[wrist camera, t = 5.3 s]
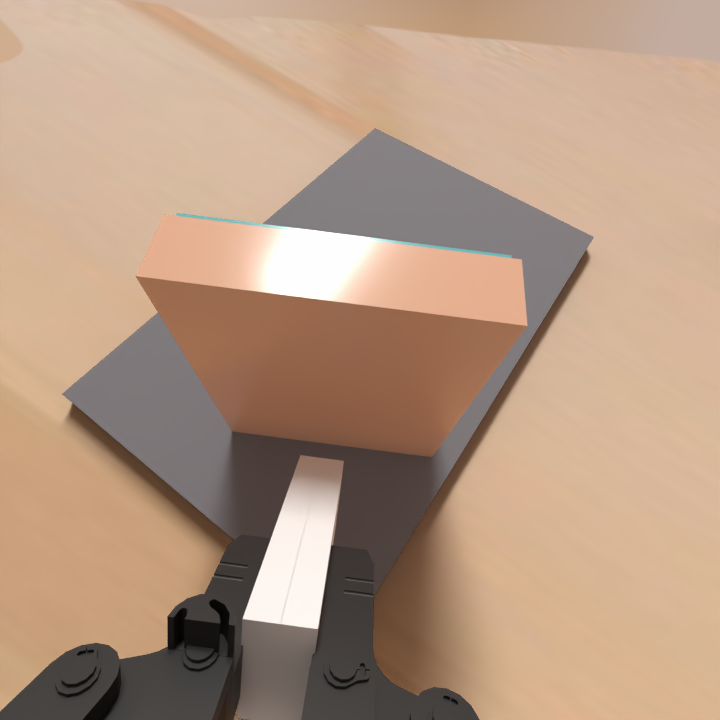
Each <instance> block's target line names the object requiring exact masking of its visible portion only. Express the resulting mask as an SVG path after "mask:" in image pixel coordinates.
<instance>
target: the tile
mask: <svg viewBox="0 0 720 720" xmlns="http://www.w3.org/2000/svg"><path fill="white" fill-rule="evenodd" d="M136 277H137V279H138V281H139V282H140V284H141V286H142V287H143V289H144V290H145V292H146V294H147V295H148V297H149V298H150V300H151V302H152V303H153V305H154V307H155V308H156V310H157V311H158V313H159V315H160V316H161V318H162V319H163V321H164V323H165V324H166V326H167V328H168V329H169V331H170V332H171V334H172V336H173V337H174V339H175V340H176V342H177V344H178V345H179V347H180V349H181V350H182V352H183V353H184V355H185V357H186V358H187V360H188V361H189V363H190V365H191V366H192V368H193V370H194V371H195V373H196V374H197V376H198V378H199V379H200V381H201V382H202V384H203V386H204V387H205V389H206V390H207V392H208V394H209V395H210V397H211V399H212V400H213V402H214V403H215V405H216V407H217V408H218V410H219V411H220V413H221V415H222V416H223V418H224V420H225V421H226V423H227V424H228V426H229V428H230V429H231V431H232V432H240V433H248V434H256V435H263V436H271V437H279V438H287V439H294V440H302V441H310V442H318V443H325V444H333V445H341V446H349V447H356V448H364V449H372V450H380V451H387V452H395V453H403V454H411V455H418V456H426V457H432V456H433V455H434V454H435V452H436V451H437V449H438V448H439V447H440V445H441V444H442V443H443V441H444V440H445V438H446V437H447V436H448V434H449V433H450V432H451V430H452V429H453V428H454V426H455V425H456V423H457V422H458V421H459V419H460V418H461V417H462V415H463V414H464V412H465V411H466V410H467V408H468V407H469V406H470V404H471V403H472V401H473V400H474V399H475V397H476V396H477V395H478V393H479V392H480V390H481V389H482V388H483V386H484V385H485V384H486V382H487V381H488V379H489V378H490V377H491V375H492V374H493V373H494V371H495V370H496V368H497V367H498V366H499V364H500V363H501V362H502V360H503V359H504V357H505V356H506V355H507V353H508V352H509V351H510V349H511V348H512V346H513V345H514V344H515V342H516V341H517V340H518V338H519V337H520V335H521V334H522V333H523V331H524V330H525V329H526V327H527V315H526V303H525V291H524V278H523V266H522V259H514V258H512V255H505V254H497V253H489V252H481V251H473V250H465V249H457V248H449V247H442V246H434V245H426V244H418V243H410V242H402V241H394V240H386V239H378V238H370V237H362V236H355V235H347V234H339V233H331V232H323V231H315V230H307V229H299V228H291V227H283V226H275V225H267V224H260V223H252V222H244V221H236V220H228V219H220V218H212V217H204V216H196V215H188V214H180V213H177V214H176V216H174V215H166V214H164V216H163V218H162V220H161V222H160V224H159V226H158V229H157V231H156V233H155V235H154V237H153V239H152V242H151V244H150V246H149V248H148V250H147V252H146V255H145V257H144V259H143V261H142V263H141V265H140V268H139V270H138V272H137V274H136Z"/></svg>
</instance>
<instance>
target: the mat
mask: <svg viewBox="0 0 720 720" xmlns="http://www.w3.org/2000/svg"><path fill="white" fill-rule="evenodd" d="M263 224H267V225H275V226H283V227H291V228H299V229H307V230H315V231H323V232H331V233H339V234H347V235H355V236H362V237H370V238H378V239H386V240H394V241H402V242H410V243H418V244H426V245H434V246H442V247H449V248H457V249H465V250H473V251H481V252H489V253H497V254H505V255H512V258H514V259H522V266H523V278H524V291H525V303H526V315H527V327H526V329H525V330H524V331H523V333H522V334H521V335H520V337H519V338H518V340H517V341H516V342H515V344H514V345H513V346H512V348H511V349H510V351H509V352H508V353H507V355H506V356H505V357H504V359H503V360H502V362H501V363H500V364H499V366H498V367H497V368H496V370H495V371H494V373H493V374H492V375H491V377H490V378H489V379H488V381H487V382H486V384H485V385H484V386H483V388H482V389H481V390H480V392H479V393H478V395H477V396H476V397H475V399H474V400H473V401H472V403H471V404H470V406H469V407H468V408H467V410H466V411H465V412H464V414H463V415H462V417H461V418H460V419H459V421H458V422H457V423H456V425H455V426H454V428H453V429H452V430H451V432H450V433H449V434H448V436H447V437H446V438H445V440H444V441H443V443H442V444H441V445H440V447H439V448H438V449H437V451H436V452H435V454H434V455H433V456H432V457H426V456H418V455H411V454H403V453H395V452H387V451H380V450H372V449H364V448H356V447H349V446H341V445H333V444H325V443H318V442H310V441H302V440H294V439H287V438H279V437H271V436H263V435H256V434H248V433H240V432H232V431H231V429H230V428H229V426H228V424H227V423H226V421H225V420H224V418H223V416H222V415H221V413H220V411H219V410H218V408H217V407H216V405H215V403H214V402H213V400H212V399H211V397H210V395H209V394H208V392H207V390H206V389H205V387H204V386H203V384H202V382H201V381H200V379H199V378H198V376H197V374H196V373H195V371H194V370H193V368H192V366H191V365H190V363H189V361H188V360H187V358H186V357H185V355H184V353H183V352H182V350H181V349H180V347H179V345H178V344H177V342H176V340H175V339H174V337H173V336H172V334H171V332H170V331H169V329H168V328H167V326H166V324H165V323H164V321H163V319H162V318H161V316H160V315H159V313H157V314H156V315H155V316H153V317H152V318H151V319H150V320H149V321H147V322H146V323H145V324H144V325H143V326H142V327H140V328H139V329H138V330H137V331H136V332H135V333H133V334H132V335H131V336H130V337H129V338H127V339H126V340H125V341H124V342H123V343H122V344H120V345H119V346H118V347H117V348H116V349H114V350H113V351H112V352H111V353H110V354H109V355H107V356H106V357H105V358H104V359H103V360H102V361H100V362H99V363H98V364H97V365H96V366H94V367H93V368H92V369H91V370H90V371H89V372H87V373H86V374H85V375H84V376H83V377H81V378H80V379H79V380H78V381H77V382H76V383H74V384H73V385H72V386H71V387H70V388H69V389H67V390H66V391H65V392H64V393H63V394H62V395H64V396H65V397H66V398H67V399H68V400H70V401H71V402H72V403H73V404H74V405H75V406H77V407H78V408H79V409H80V410H81V411H83V412H84V413H85V414H86V415H87V416H88V417H90V418H91V419H92V420H93V421H94V422H95V423H97V424H98V425H99V426H100V427H101V428H103V429H104V430H105V431H106V432H107V433H108V434H110V435H111V436H112V437H113V438H114V439H116V440H117V441H118V442H119V443H120V444H121V445H123V446H124V447H125V448H126V449H127V450H128V451H130V452H131V453H132V454H133V455H134V456H136V457H137V458H138V459H139V460H140V461H141V462H143V463H144V464H145V465H146V466H147V467H149V468H150V469H151V470H152V471H153V472H154V473H156V474H157V475H158V476H159V477H160V478H161V479H163V480H164V481H165V482H166V483H167V484H169V485H170V486H171V487H172V488H173V489H174V490H176V491H177V492H178V493H179V494H180V495H181V496H183V497H184V498H185V499H186V500H187V501H189V502H190V503H191V504H192V505H193V506H194V507H196V508H197V509H198V510H199V511H200V512H202V513H203V514H204V515H205V516H206V517H207V518H209V519H210V520H211V521H212V522H213V523H214V524H216V525H217V526H218V527H219V528H220V529H222V530H223V531H224V532H225V533H226V534H227V535H229V536H230V537H231V538H232V539H233V540H235V539H237V538H238V537H239V536H240V535H241V534H242V535H249V536H257V537H264V538H271V537H272V534H273V531H274V529H275V526H276V523H277V520H278V517H279V514H280V512H281V509H282V506H283V503H284V500H285V498H286V495H287V492H288V489H289V486H290V483H291V481H292V478H293V475H294V472H295V469H296V466H297V464H298V461H299V458H300V455H303V456H311V457H318V458H326V459H333V460H341V461H344V464H343V472H342V480H341V488H340V496H339V504H338V512H337V520H336V528H335V534H334V541H333V545H334V546H341V547H349V548H356V549H364V550H367V551H368V553H369V555H370V557H371V559H372V561H373V563H374V594H373V597H374V595H375V593H376V592H377V590H378V588H379V587H380V585H381V584H382V582H383V580H384V579H385V577H386V575H387V574H388V572H389V570H390V569H391V567H392V566H393V564H394V562H395V561H396V559H397V557H398V556H399V554H400V553H401V551H402V549H403V548H404V546H405V544H406V543H407V541H408V539H409V538H410V536H411V535H412V533H413V531H414V530H415V528H416V526H417V525H418V523H419V522H420V520H421V518H422V517H423V515H424V513H425V512H426V510H427V508H428V507H429V505H430V504H431V502H432V500H433V499H434V497H435V495H436V494H437V492H438V491H439V489H440V487H441V486H442V484H443V482H444V481H445V479H446V477H447V476H448V474H449V473H450V471H451V469H452V468H453V466H454V464H455V463H456V461H457V460H458V458H459V456H460V455H461V453H462V451H463V450H464V448H465V447H466V445H467V443H468V442H469V440H470V438H471V437H472V435H473V433H474V432H475V430H476V429H477V427H478V425H479V424H480V422H481V420H482V419H483V417H484V416H485V414H486V412H487V411H488V409H489V407H490V406H491V404H492V402H493V401H494V399H495V398H496V396H497V394H498V393H499V391H500V389H501V388H502V386H503V385H504V383H505V381H506V380H507V378H508V376H509V375H510V373H511V371H512V370H513V368H514V367H515V365H516V363H517V362H518V360H519V358H520V357H521V355H522V354H523V352H524V350H525V349H526V347H527V345H528V344H529V342H530V340H531V339H532V337H533V336H534V334H535V332H536V331H537V329H538V327H539V326H540V324H541V323H542V321H543V319H544V318H545V316H546V314H547V313H548V311H549V309H550V308H551V306H552V305H553V303H554V301H555V300H556V298H557V296H558V295H559V293H560V292H561V290H562V288H563V287H564V285H565V283H566V282H567V280H568V278H569V277H570V275H571V274H572V272H573V270H574V269H575V267H576V265H577V264H578V262H579V261H580V259H581V257H582V256H583V254H584V252H585V251H586V249H587V248H588V246H589V244H590V243H591V241H592V239H593V238H594V237H593V236H591V235H589V234H587V233H585V232H583V231H581V230H579V229H577V228H575V227H573V226H571V225H569V224H567V223H565V222H563V221H560V220H558V219H556V218H554V217H552V216H550V215H548V214H546V213H544V212H542V211H540V210H538V209H536V208H534V207H532V206H530V205H528V204H526V203H524V202H522V201H520V200H518V199H516V198H514V197H512V196H510V195H508V194H506V193H504V192H502V191H500V190H498V189H496V188H494V187H492V186H490V185H488V184H486V183H484V182H482V181H480V180H478V179H476V178H474V177H472V176H470V175H468V174H466V173H464V172H462V171H460V170H458V169H456V168H454V167H452V166H450V165H448V164H446V163H444V162H442V161H440V160H438V159H436V158H434V157H432V156H430V155H428V154H426V153H424V152H422V151H420V150H418V149H416V148H414V147H412V146H410V145H408V144H406V143H404V142H402V141H400V140H398V139H396V138H394V137H392V136H390V135H388V134H386V133H384V132H382V131H380V130H378V129H376V128H375V129H374V130H373V131H371V132H370V133H369V134H368V135H367V136H366V137H364V138H363V139H362V140H361V141H360V142H358V143H357V144H356V145H355V146H354V147H353V148H351V149H350V150H349V151H348V152H347V153H345V154H344V155H343V156H342V157H341V158H340V159H338V160H337V161H336V162H335V163H334V164H333V165H331V166H330V167H329V168H328V169H327V170H325V171H324V172H323V173H322V174H321V175H320V176H318V177H317V178H316V179H315V180H314V181H312V182H311V183H310V184H309V185H308V186H307V187H305V188H304V189H303V190H302V191H301V192H300V193H298V194H297V195H296V196H295V197H294V198H292V199H291V200H290V201H289V202H288V203H287V204H285V205H284V206H283V207H282V208H281V209H279V210H278V211H277V212H276V213H275V214H274V215H272V216H271V217H270V218H269V219H268V220H267V221H265V222H264V223H263Z"/></svg>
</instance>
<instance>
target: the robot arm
mask: <svg viewBox="0 0 720 720" xmlns="http://www.w3.org/2000/svg"><path fill="white" fill-rule="evenodd" d="M343 464H344V461H341V460H333V459H326V458H318V457H311V456H303V455H300V458H299V461H298V464H297V466H296V469H295V472H294V475H293V478H292V481H291V483H290V486H289V489H288V492H287V495H286V498H285V500H284V503H283V506H282V509H281V512H280V514H279V517H278V520H277V523H276V526H275V529H274V531H273V534H272V537H271V538H264V537H257V536H249V535H242V534H241V535H240V536H239V537H238V538H237V539H235V540H234V541H233V542H232V543H231V544H230V545H229V546H228V547H227V549H226V551H225V553H224V555H223V557H222V559H221V561H220V564H219V565H218V567H217V569H216V572H215V574H214V577H213V578H212V580H211V582H210V584H209V586H208V588H207V590H206V592H205V594H200V595H197V596H194V597H191V598H188V599H186V600H185V601H183V602H182V603H180V604H179V605H177V606H176V607H175V608H174V609H173V611H172V612H171V613H170V614H169V615H168V647H166V648H164V649H162V650H160V651H158V652H154V653H151V654H147V655H142V656H136V657H131V658H125V659H119V657H118V654H117V652H116V651H115V650H114V649H113V648H111V647H110V646H109V645H104V644H99V643H93V644H87V645H81V646H79V647H76V648H74V649H72V650H70V651H67V652H65V653H64V654H63V655H61V656H60V657H59V658H57V659H56V660H55V661H53V662H52V663H51V664H50V665H49V666H48V667H46V668H45V669H44V670H43V671H42V672H41V673H40V674H39V675H38V676H37V677H36V678H35V679H34V680H33V681H32V682H31V683H30V684H29V685H28V686H27V687H26V688H24V689H23V690H22V691H21V692H20V693H19V694H18V695H17V696H16V697H15V698H14V699H13V700H12V701H11V702H10V703H9V704H8V705H7V706H6V707H5V708H3V709H2V710H1V711H0V720H233V719H234V715H235V712H236V709H237V718H240V719H247V720H479V718H478V716H477V715H476V713H475V711H474V710H473V708H472V706H471V705H470V704H469V703H468V702H467V701H466V700H465V699H463V698H462V697H461V696H460V695H459V694H457V693H455V692H453V691H450V690H448V689H445V688H435V687H433V688H431V689H428V690H425V691H422V692H421V693H420V695H419V696H416V695H414V694H412V693H410V692H408V691H406V690H404V689H402V688H400V687H398V686H397V685H395V684H394V683H392V682H391V681H390V680H388V679H387V678H386V677H385V676H384V675H383V673H382V672H381V670H380V669H379V667H378V666H377V664H376V661H375V658H374V654H373V599H374V597H373V594H374V563H373V561H372V559H371V557H370V555H369V553H368V551H367V550H364V549H356V548H349V547H341V546H334V545H333V541H334V534H335V528H336V520H337V512H338V504H339V496H340V488H341V480H342V472H343ZM237 705H238V706H237Z"/></svg>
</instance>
